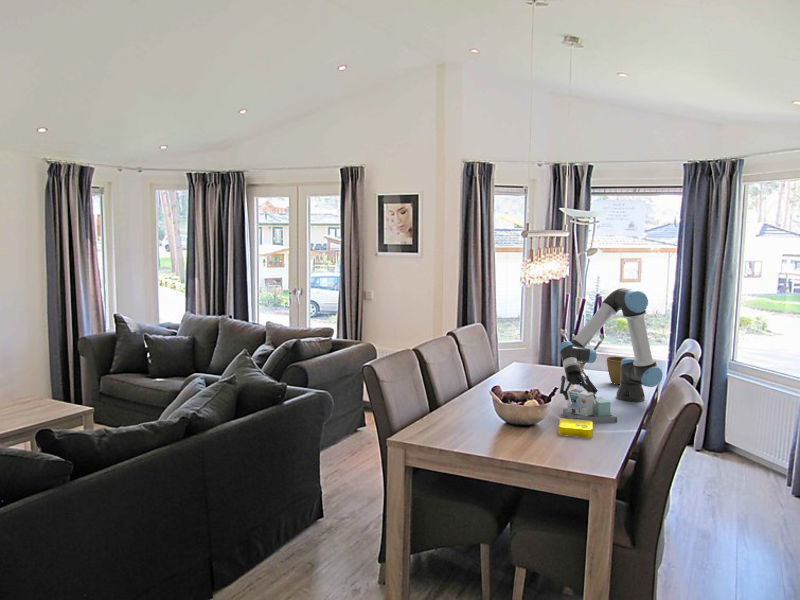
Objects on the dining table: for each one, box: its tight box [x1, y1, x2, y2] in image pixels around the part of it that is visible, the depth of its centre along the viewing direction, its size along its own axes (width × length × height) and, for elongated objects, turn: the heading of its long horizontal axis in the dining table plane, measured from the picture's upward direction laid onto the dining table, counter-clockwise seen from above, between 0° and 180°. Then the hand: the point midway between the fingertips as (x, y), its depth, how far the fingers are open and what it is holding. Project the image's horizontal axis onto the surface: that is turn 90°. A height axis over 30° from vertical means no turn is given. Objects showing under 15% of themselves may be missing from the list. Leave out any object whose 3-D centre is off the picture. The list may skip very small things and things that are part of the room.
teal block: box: [593, 396, 612, 417], centre depth 302 cm, size 6×10×9 cm, turn 6°
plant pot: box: [606, 356, 626, 385], centre depth 381 cm, size 15×15×16 cm
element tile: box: [557, 418, 594, 438], centre depth 282 cm, size 15×15×5 cm
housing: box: [562, 408, 618, 424], centre depth 302 cm, size 21×16×3 cm
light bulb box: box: [567, 388, 594, 416], centre depth 301 cm, size 11×7×11 cm, turn 44°
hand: (582, 405), depth 298 cm, fingers open, 11 cm apart
